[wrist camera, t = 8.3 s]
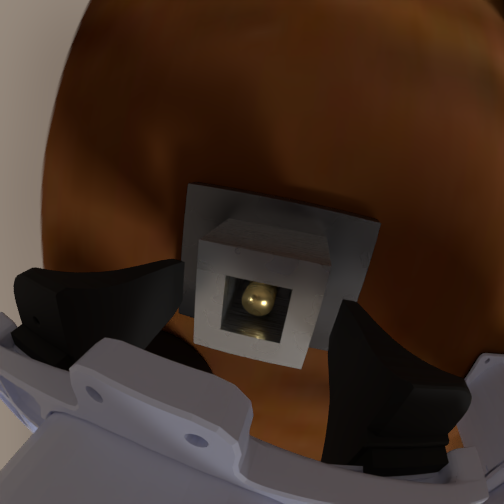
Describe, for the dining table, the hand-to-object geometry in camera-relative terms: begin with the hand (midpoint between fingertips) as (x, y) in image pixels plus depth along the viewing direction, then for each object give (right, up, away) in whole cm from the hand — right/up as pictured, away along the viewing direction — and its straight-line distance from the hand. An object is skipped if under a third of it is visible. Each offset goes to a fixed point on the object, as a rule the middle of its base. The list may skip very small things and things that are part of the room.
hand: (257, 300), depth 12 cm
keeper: (+1, +1, +4) cm, 4 cm away
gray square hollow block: (+1, +1, +3) cm, 3 cm away
